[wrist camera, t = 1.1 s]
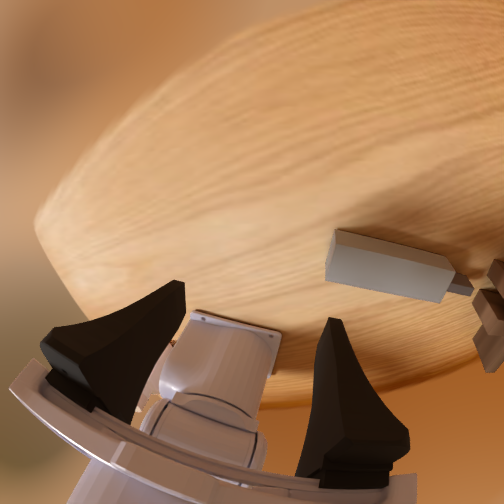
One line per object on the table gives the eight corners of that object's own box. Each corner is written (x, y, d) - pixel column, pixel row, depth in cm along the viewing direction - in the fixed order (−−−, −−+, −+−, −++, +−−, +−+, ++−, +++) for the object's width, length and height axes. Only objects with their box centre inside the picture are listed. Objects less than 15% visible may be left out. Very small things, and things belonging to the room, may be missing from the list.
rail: (325, 263, 21) (325, 280, 19) (334, 229, 19) (335, 243, 17) (456, 291, 19) (465, 308, 17) (470, 263, 17) (481, 278, 15)
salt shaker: (182, 360, 33) (150, 417, 24) (158, 357, 34) (126, 409, 26) (169, 338, 31) (132, 398, 23) (145, 336, 32) (108, 390, 24)
